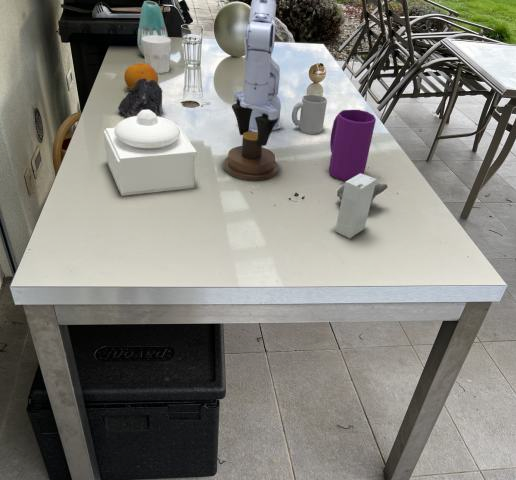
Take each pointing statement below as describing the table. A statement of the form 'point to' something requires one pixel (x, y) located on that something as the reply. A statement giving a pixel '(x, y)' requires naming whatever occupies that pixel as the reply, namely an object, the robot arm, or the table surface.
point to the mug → (350, 143)
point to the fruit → (139, 74)
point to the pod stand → (251, 165)
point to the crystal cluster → (142, 99)
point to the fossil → (377, 190)
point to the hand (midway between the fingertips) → (252, 139)
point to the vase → (150, 23)
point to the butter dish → (149, 155)
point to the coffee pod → (251, 145)
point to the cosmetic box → (355, 205)
